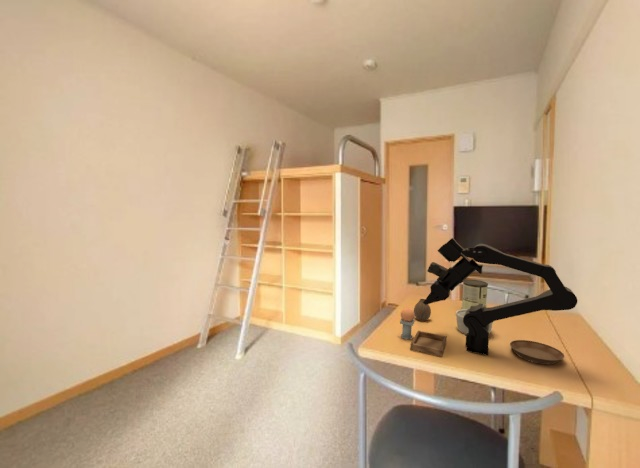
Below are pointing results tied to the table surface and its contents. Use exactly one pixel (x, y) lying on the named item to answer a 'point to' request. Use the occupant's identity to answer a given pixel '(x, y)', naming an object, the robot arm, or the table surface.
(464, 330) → the ramekin
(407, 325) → the stand
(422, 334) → the tray
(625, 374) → the table surface
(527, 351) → the saucer
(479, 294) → the coffee can
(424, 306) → the vase
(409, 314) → the ball
